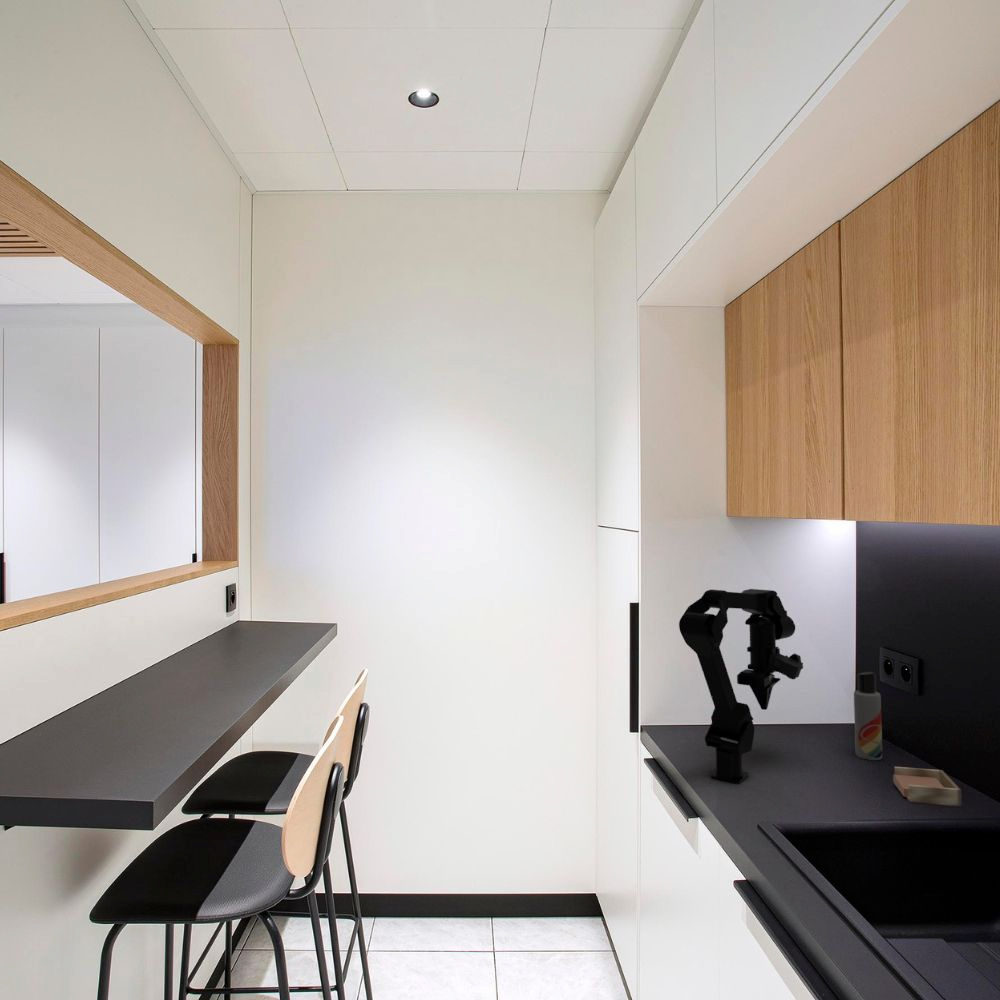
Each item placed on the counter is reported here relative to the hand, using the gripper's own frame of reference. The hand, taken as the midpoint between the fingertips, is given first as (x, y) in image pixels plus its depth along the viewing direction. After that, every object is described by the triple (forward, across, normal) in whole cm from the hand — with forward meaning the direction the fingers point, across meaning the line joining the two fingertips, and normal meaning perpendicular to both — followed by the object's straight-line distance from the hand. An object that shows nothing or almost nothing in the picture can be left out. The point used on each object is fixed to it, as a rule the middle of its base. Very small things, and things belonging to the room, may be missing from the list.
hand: (764, 709), depth 163 cm
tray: (+12, 0, -33) cm, 35 cm away
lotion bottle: (+12, +17, -18) cm, 28 cm away
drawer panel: (+11, -2, -28) cm, 30 cm away
